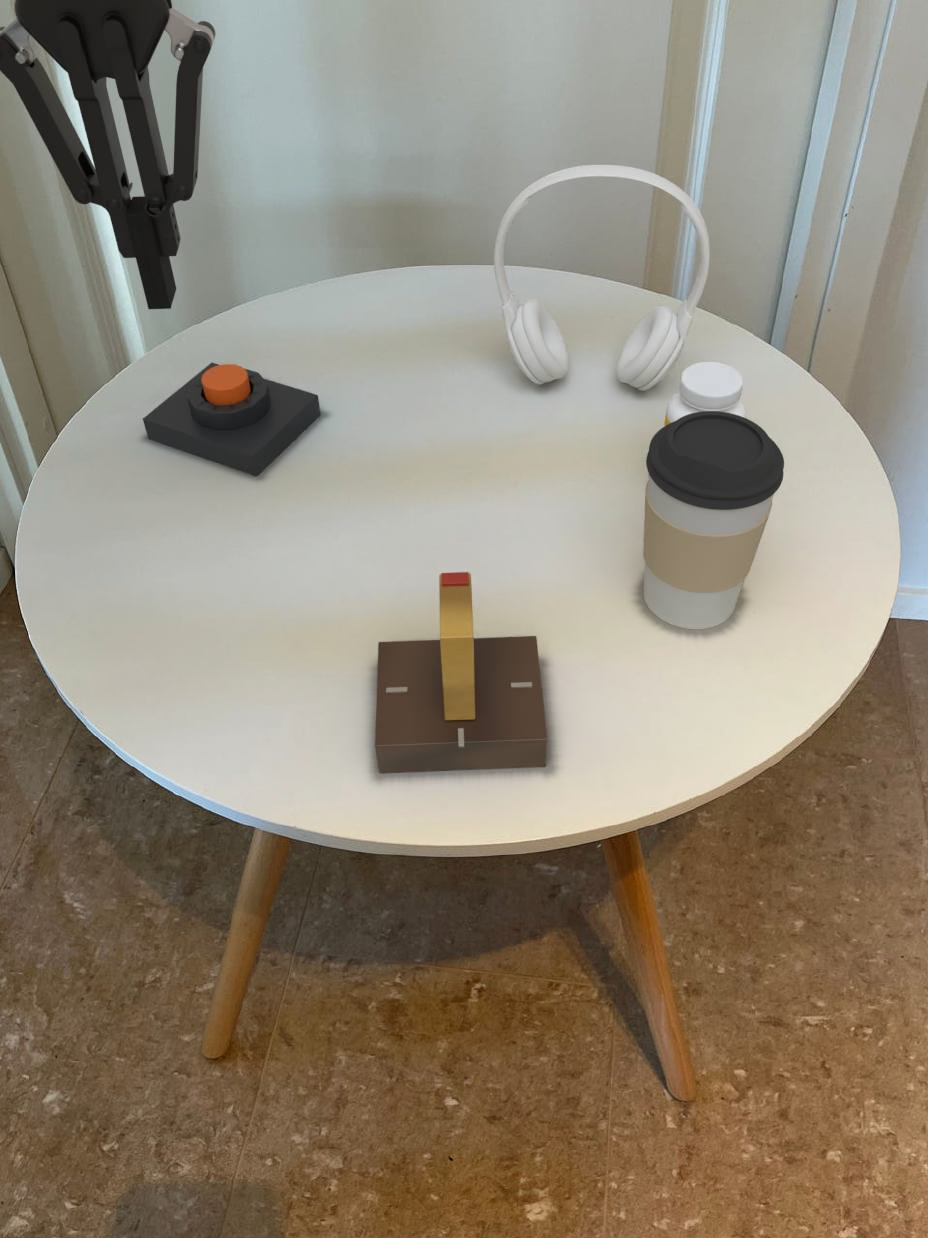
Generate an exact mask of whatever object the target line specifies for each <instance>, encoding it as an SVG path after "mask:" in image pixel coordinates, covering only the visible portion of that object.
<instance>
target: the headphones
mask: <svg viewBox="0 0 928 1238" xmlns="http://www.w3.org/2000/svg"><path fill="white" fill-rule="evenodd" d="M586 177H587V178H588V177H590V178H591V177H609V178H611V177H613V178H622V179H627V180H628V179H630V180H634V181H638V182H642V183H646V184H648V185H651V186H653V187H656V188H658V189H660V190H662V191H664V192H666V193H668V194H669V195H671V196H672V197H674V198H675V199H677V201H679V206H680V208H681V210H682V212H684V214H685V216H686V217H687V218H688V219H689V221H690V222H691V224H692V226H693V228H694V230H695V232H696V235H697V238H698V243H699V250H700V251H699V254H700V255H699V256H700V258H699V266H698V270H697V271H698V272H697V275H696V279H695V280H694V281H695V282H694V284H693V287H692V289H691V291H690V292H689V293H690V294H689V296H688V298H685V299H684V300H683V301H682V303H680V305H679V306H678V308H677V310H676V312H674V311H672V310H671V308H670V307H668V306H667V305H665V304H662V305H658V306H655V307H654V308H653V309H651V310H650V311H649V312H647V313H646V314H645V315H644V316H643V317H642V319H640V321H639V322H638V323H637V325H636V326H635V327H634V329H633V330H632V331H631V333H630V334H629V336H628V338H627V340H626V341H625V344H624V345H623V347H622V350H621V351H620V354H619V357H618V360H617V363H616V368H615V370H616V371H615V373H616V377H617V379H618V380H619V381H620V382H622V383H624V384H628V385H629V386H631V387H633V388H635V389H636V388H637V389H638V390H639V391H648V390H649V389H651V388H653V387H654V386H656V385H657V384H658V383H660V382H661V381H662V380H664V378H665V377H666V376H667V375H668V374H669V372H671V370H672V368H673V367H674V366H675V364H676V362H677V361H678V359H679V357H680V356H681V354H682V352H683V349H684V347H685V342H686V339H687V336H688V335H689V332H690V329H691V325H692V323H693V319H694V313H695V310H696V308H697V306H698V303H699V302H700V299H701V297H702V294H703V292H704V289H705V286H706V283H707V279H708V275H709V270H710V259H711V247H710V246H711V245H710V237H709V232H708V228H707V225H706V221H705V219H704V216H703V215H702V213H701V210H700V209H699V207H698V206H697V204H696V203H695V202H694V201H693V199H692V198H691V197H690V196H689V195H688V194H687V193H686V192H685V191H684V190H683V189H681V188H680V187H679V186H678V185H676V184H675V183H674V182H672V181H670V180H669V179H667V178H665V177H664V176H663V177H662V176H661V175H658V174H656V173H654V172H651V171H648V170H645V169H642V168H637V167H633V166H627V165H617V164H585V165H579V166H578V165H577V166H571V167H567V168H563V169H560V170H557V171H555V172H552V173H550V174H546V175H544V176H542V177H541V178H539V179H537V180H535V181H534V182H533V183H531V184H529V186H527V187H526V188H525V189H523V190H522V191H521V192H520V193H519V194H518V195H517V196H516V197H515V198H514V200H513V201H512V202H511V204H510V205H509V206H508V208H507V209H506V211H505V213H504V215H503V217H502V219H501V221H500V224H499V226H498V231H497V233H496V234H497V235H496V238H495V242H494V243H495V244H494V251H493V268H494V275H495V281H496V285H497V291H498V293H499V297H500V300H501V304H502V305H501V312H502V320H503V324H504V329H505V335H506V340H507V345H508V347H509V350H510V354H511V355H512V357H513V359H514V362H515V363H516V364H517V367H519V369H520V371H522V373H523V374H524V375H525V376H526V377H527V378H528V379H529V380H530V381H532V382H533V383H534V384H536V385H543V384H545V383H550V382H552V381H555V380H559V379H563V378H564V377H565V376H566V375H567V374H568V371H569V367H570V360H569V359H570V358H569V351H568V347H567V344H566V341H565V338H564V335H563V332H562V330H561V328H560V326H559V324H558V322H557V320H556V318H555V317H554V315H553V314H552V312H551V310H549V309H548V307H547V306H546V305H545V304H544V303H542V302H541V301H540V300H538V299H536V298H529V299H527V300H526V301H524V302H523V303H521V304H520V303H519V299H518V297H517V295H516V294H515V292H514V291H513V290H511V289H510V285H509V282H508V278H507V273H506V268H505V261H504V259H505V258H504V255H505V254H504V253H505V243H506V238H507V235H508V232H509V230H510V228H511V225H512V224H513V222H514V221H515V219H516V217H517V216H518V215H519V214H520V212H521V211H522V210H523V209H524V208H525V207H526V206H527V205H528V203H529V202H530V201H531V199H532V197H533V195H534V194H536V193H537V192H539V191H541V190H543V189H545V188H547V187H549V186H552V185H555V184H558V183H561V182H564V181H568V180H574V179H579V178H586Z"/></svg>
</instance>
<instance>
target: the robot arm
mask: <svg viewBox="0 0 928 1238" xmlns="http://www.w3.org/2000/svg"><path fill="white" fill-rule="evenodd" d="M13 5H14V6H13V9H14V13H15V18H13V19H12V20H11V21H10V22H9V23H8V24H7V25H6V26H0V72H1V73H2V74H3V75H4V77H5V78H7V79H8V81H9V82H10V83H11V84H12V85H13V87H14V89H15V90H16V93H17V94H18V96H19V98H20V100H21V102H22V103H23V105H24V107H25V109H26V111H27V113H28V115H29V117H30V119H31V121H32V123H33V124H34V126H35V128H36V130H37V132H38V134H39V136H40V138H41V139H42V141H43V143H44V145H45V147H46V149H47V150H48V152H49V154H50V157H51V158H52V160H53V162H54V164H55V166H56V168H57V169H58V171H59V173H60V175H61V177H62V179H63V180H64V183H65V184H66V187H67V188H68V190H69V192H70V194H71V195H72V197H73V199H74V200H75V201H76V202H77V203H79V204H80V205H88V204H94V205H97V206H99V207H102V208H103V209H104V210H106V212H107V213H108V215H109V218H110V219H109V220H110V223H111V226H112V230H113V234H114V238H115V241H116V246H117V249H118V252H119V254H120V255H121V257H122V258H123V259H135V261H136V264H137V268H138V273H139V276H140V280H141V284H142V289H143V293H144V296H145V297H144V298H145V301H146V305H147V309H148V310H171V309H172V306H173V303H174V299H175V295H176V292H177V285H176V281H175V276H174V271H173V267H172V263H171V258H170V257H177V254H178V252H179V249H180V243H181V240H182V239H181V234H180V230H179V225H178V219H177V215H176V210H175V207H174V206H175V205H174V204H176V203H177V202H180V201H181V202H187V201H189V200H191V198H192V197H193V194H194V191H195V187H196V185H197V180H198V178H199V177H198V176H199V175H198V173H199V155H200V137H201V135H200V134H201V117H202V116H201V115H202V97H203V76H204V66H205V64H206V62H207V60H208V57H209V55H210V53H211V50H212V47H213V44H214V41H215V39H216V29H215V28H214V26H213V25H212V24H211V23H210V22H209V21H206V20H200V21H199V22H196V21H194V20H193V19H191V18H190V17H187V16H186V15H184V14H183V13H181V12H180V11H178V10H176V9H175V8H173V3H172V0H14V4H13ZM164 32H166V33H167V34H168V36H169V38H170V52H171V55H172V56H173V58H174V59H176V60H177V61H179V65H178V69H177V74H176V83H175V86H176V87H175V112H174V113H175V114H174V139H173V140H174V141H173V142H174V144H173V169H172V171H173V172H172V173H171V174H169V170H168V169H169V168H168V164H167V160H166V155H165V150H164V146H163V141H162V136H161V132H160V127H159V122H158V117H157V113H156V109H155V105H154V100H153V95H152V90H151V85H150V71H149V65H150V62H151V61H152V58H153V56H154V55H155V52H156V49H157V47H158V45H159V43H160V41H161V39H162V36H163V34H164ZM35 42H36V43H37V44H38V45H40V47H41V48H42V49H43V50H44V51H45V52H46V53H47V54H48V55H49V56H50V57H51V58H52V59H53V60H54V61H55V62H56V63H57V64H58V66H60V67H61V69H62V70H64V71H65V72H66V73H67V75H68V80H69V84H70V86H71V91H72V94H73V97H74V100H75V101H77V104H78V107H79V112H80V116H81V120H82V123H83V128H84V132H85V134H86V138H87V139H86V140H87V143H88V146H89V150H90V154H91V158H92V160H91V158H90V156H89V154H88V152H87V150H86V148H85V146H84V144H83V142H82V140H81V138H80V136H79V134H78V132H77V130H76V129H75V126H74V125H73V123H72V120H71V119H70V118H71V117H69V115H68V113H67V111H66V108H65V107H64V105H63V103H62V101H61V98H60V96H59V95H58V93H57V91H56V89H55V87H54V85H53V83H52V81H51V79H50V77H49V75H48V73H47V71H46V69H45V67H44V66H43V64H42V63H41V61H40V60H39V58H38V54H39V50H38V46H37V45H36V43H35ZM107 78H108V79H112V80H114V82H115V86H116V89H117V94H118V97H119V99H120V100H121V101H122V106H123V110H124V114H125V119H126V123H127V127H128V131H129V136H130V140H131V144H132V148H133V153H134V157H135V162H136V165H137V170H138V174H139V178H140V183H141V187H142V191H143V196H132V197H131V194H130V193H131V191H132V189H133V182H130V180H129V175H128V172H127V166H126V162H125V159H124V154H123V151H122V146H121V141H120V138H119V133H118V129H117V124H116V121H115V117H114V112H113V108H112V104H111V103H112V102H111V100H110V96H109V91H108V87H107ZM92 161H93V162H92Z"/></svg>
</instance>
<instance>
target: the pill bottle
mask: <svg viewBox="0 0 928 1238" xmlns="http://www.w3.org/2000/svg"><path fill="white" fill-rule="evenodd" d="M743 387H744V379H743V376H742V374H741V373H740V372H739V371H738V370H737V369H736V368H734V367H733V366H731V365H728V364H726V363H723V362H719V361H701V362H697V363H693V364H691V365H689V366H688V367H686V368H685V369H684V370H683V371H682V373H681V375H680V382H679V386H678V391H677V392H676V393H674V395H672V397H671V398H670V400H669V402H668V404H667V407H666V410H665V412H666V413H665V419H664V426H666V425H668V424H670V423H672V422H674V421H677V420H678V419H680V418H681V417H683V416H686V415H688V414H692V413H696V412H703V411H719V412H726V413H731V414H735V415H739V416H741V417H744V418H746V419H747V409H746V406H745V404H744V402H743V400H742V399H741V396H742V393H743Z"/></svg>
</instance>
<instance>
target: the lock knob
mask: <svg viewBox="0 0 928 1238" xmlns="http://www.w3.org/2000/svg"><path fill="white" fill-rule="evenodd" d="M438 583H439V584H438V585H439V586H438V590H439V592H438V593H439V599H438V600H439V640H440V648H441V665H442V682H443V699H444V717H445V720H474V719H475V676H474V638H475V637H474V616H473V615H474V614H473V613H474V611H473V591H472V589H473V588H472V573H471V572H470V571H457V572H441V573H439V575H438Z"/></svg>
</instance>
